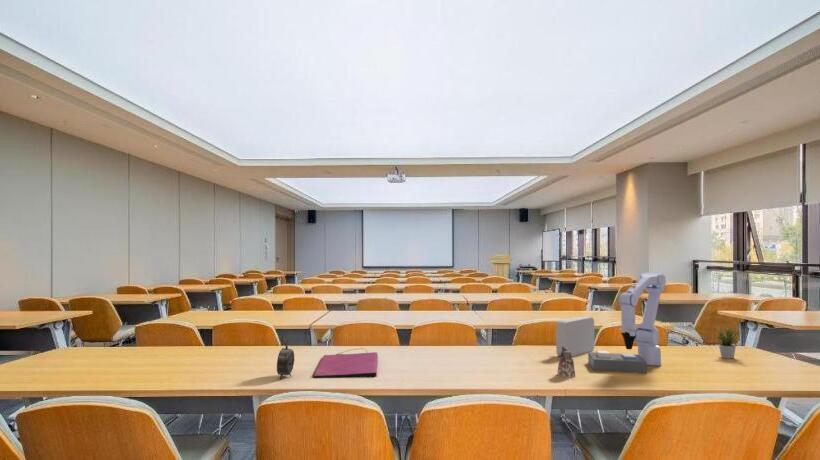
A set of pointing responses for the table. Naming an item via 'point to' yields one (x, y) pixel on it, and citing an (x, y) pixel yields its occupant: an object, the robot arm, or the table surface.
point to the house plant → (727, 343)
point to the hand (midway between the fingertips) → (628, 349)
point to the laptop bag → (347, 365)
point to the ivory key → (603, 354)
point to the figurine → (566, 364)
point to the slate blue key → (628, 356)
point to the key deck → (617, 363)
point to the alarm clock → (285, 361)
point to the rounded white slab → (575, 335)
